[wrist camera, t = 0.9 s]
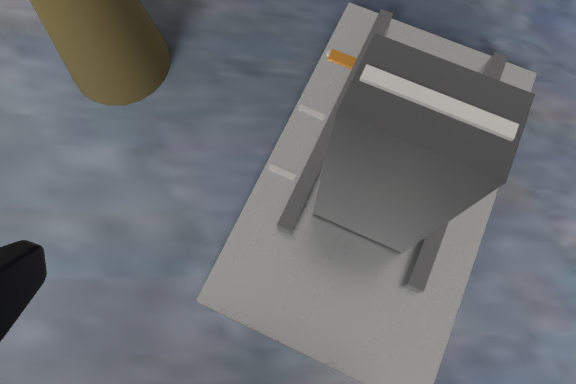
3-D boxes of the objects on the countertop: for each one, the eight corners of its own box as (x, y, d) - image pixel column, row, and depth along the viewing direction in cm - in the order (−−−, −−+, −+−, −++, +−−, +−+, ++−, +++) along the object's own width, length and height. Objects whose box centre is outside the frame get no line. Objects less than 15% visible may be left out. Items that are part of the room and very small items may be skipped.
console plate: (418, 409, 21) (430, 416, 20) (199, 302, 23) (191, 299, 21) (527, 82, 27) (546, 63, 25) (347, 13, 29) (351, -10, 27)
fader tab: (402, 253, 22) (508, 180, 12) (312, 213, 23) (336, 110, 12) (422, 201, 23) (537, 91, 13) (335, 164, 24) (375, 29, 13)
